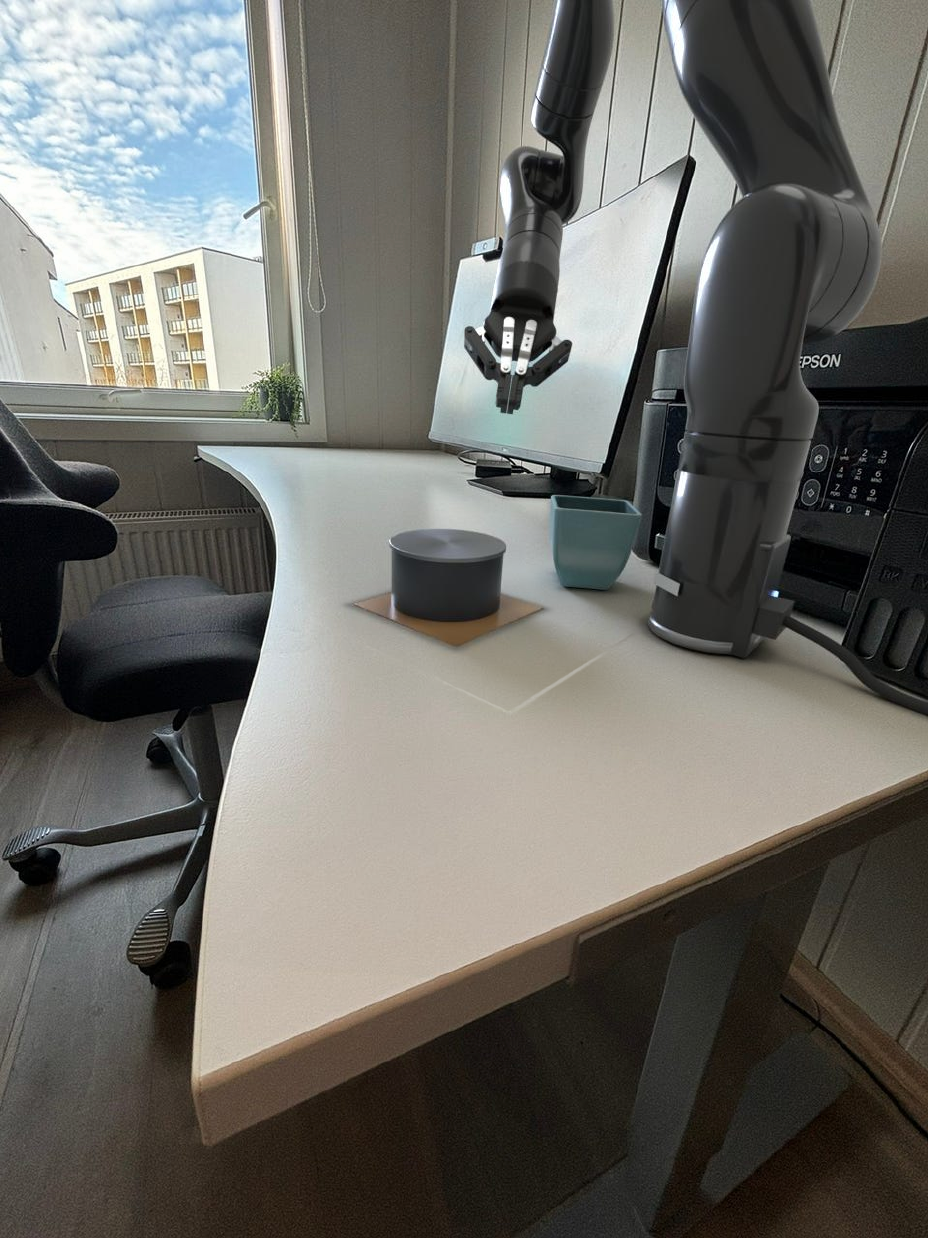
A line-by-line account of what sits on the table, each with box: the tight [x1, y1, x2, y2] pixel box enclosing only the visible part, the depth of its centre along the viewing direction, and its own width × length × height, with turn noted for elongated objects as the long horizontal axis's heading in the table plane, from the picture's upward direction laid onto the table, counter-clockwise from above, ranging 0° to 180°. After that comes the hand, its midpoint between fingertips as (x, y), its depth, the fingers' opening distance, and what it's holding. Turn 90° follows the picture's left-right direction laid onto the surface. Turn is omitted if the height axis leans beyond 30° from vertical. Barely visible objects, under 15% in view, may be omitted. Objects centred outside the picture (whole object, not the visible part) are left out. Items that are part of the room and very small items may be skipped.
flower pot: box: [549, 494, 643, 591], centre depth 62 cm, size 9×9×9 cm
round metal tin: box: [388, 528, 507, 622], centre depth 54 cm, size 11×11×6 cm
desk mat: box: [353, 592, 544, 648], centre depth 55 cm, size 13×13×1 cm
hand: (507, 408), depth 62 cm, fingers closed
